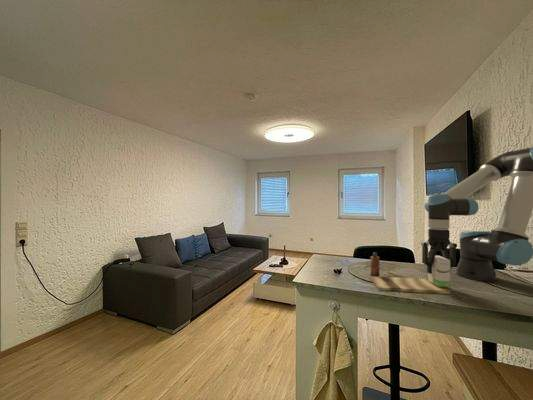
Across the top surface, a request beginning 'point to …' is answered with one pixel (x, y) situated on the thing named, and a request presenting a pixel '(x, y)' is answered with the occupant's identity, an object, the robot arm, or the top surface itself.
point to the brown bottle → (375, 265)
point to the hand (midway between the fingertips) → (438, 280)
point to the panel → (407, 285)
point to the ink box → (441, 271)
